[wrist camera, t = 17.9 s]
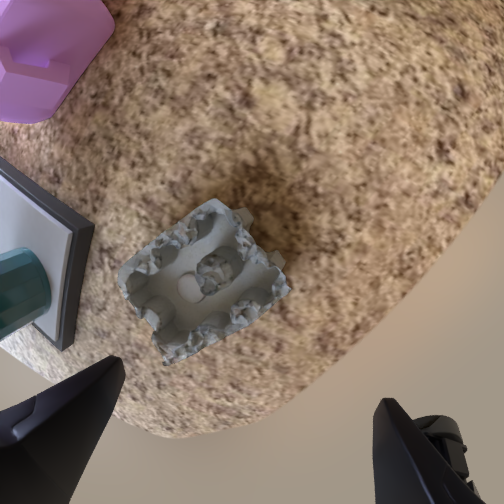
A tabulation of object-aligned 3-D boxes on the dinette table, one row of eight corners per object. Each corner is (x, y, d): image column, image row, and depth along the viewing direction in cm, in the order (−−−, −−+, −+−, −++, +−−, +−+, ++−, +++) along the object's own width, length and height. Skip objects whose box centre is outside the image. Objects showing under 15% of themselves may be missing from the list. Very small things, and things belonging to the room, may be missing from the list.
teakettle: (109, 111, 20) (-32, 99, 9) (3, 136, 24) (-89, 145, 13) (140, -53, 16) (53, -112, 4) (26, 4, 20) (-51, -14, 8)
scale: (73, 343, 28) (57, 355, 26) (-17, 252, 30) (-32, 258, 28) (95, 224, 23) (73, 231, 21) (-7, 150, 25) (-24, 152, 23)
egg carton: (185, 343, 24) (161, 372, 20) (131, 264, 23) (98, 282, 19) (304, 284, 20) (295, 311, 16) (239, 184, 19) (215, 189, 16)
